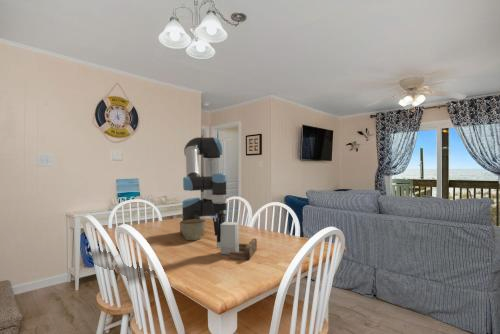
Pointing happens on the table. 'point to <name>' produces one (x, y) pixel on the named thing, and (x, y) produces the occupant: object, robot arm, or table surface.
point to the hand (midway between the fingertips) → (219, 247)
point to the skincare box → (229, 237)
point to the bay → (248, 253)
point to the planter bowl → (192, 228)
